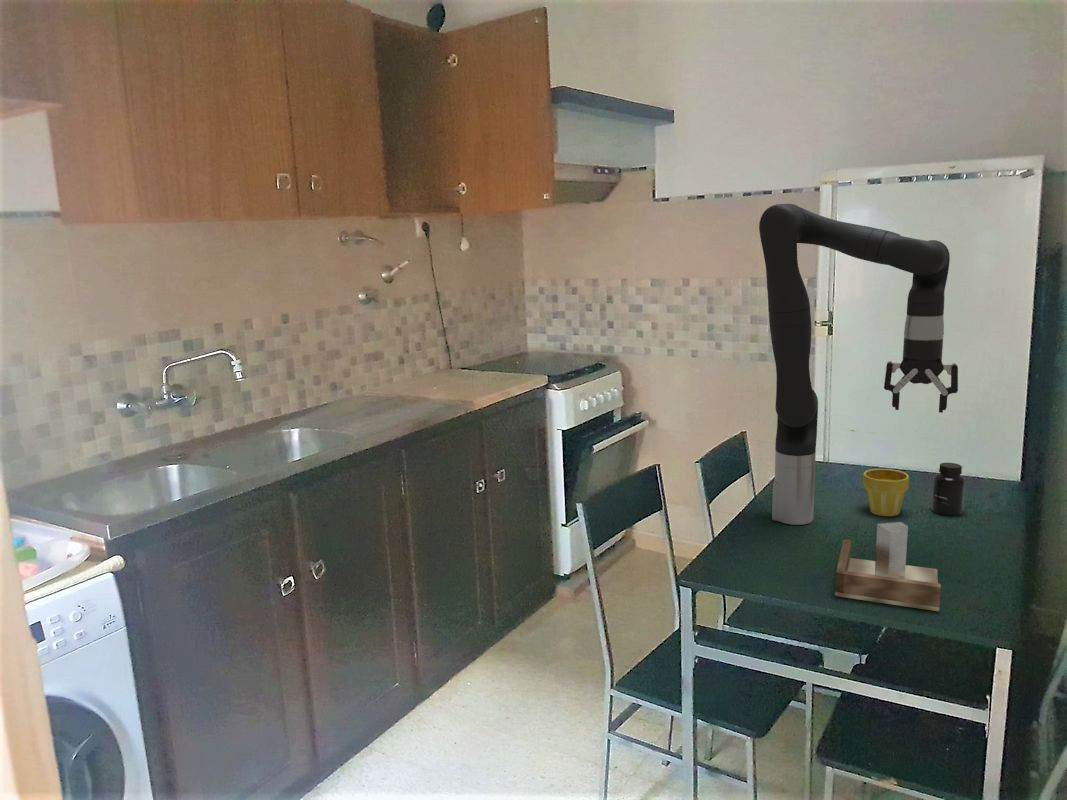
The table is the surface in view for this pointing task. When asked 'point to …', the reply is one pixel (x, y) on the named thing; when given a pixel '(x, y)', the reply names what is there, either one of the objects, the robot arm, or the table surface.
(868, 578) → the wooden tray
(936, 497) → the supplement bottle
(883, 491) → the plant pot
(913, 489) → the table surface
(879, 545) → the bracket
